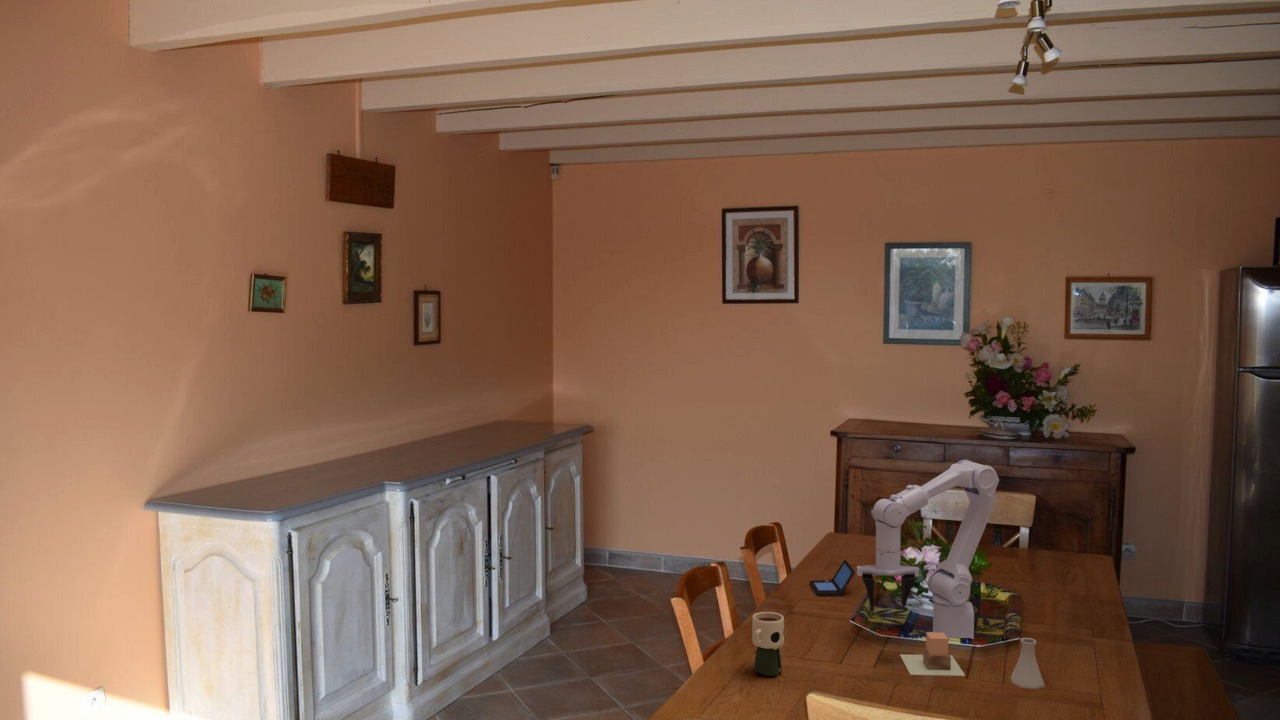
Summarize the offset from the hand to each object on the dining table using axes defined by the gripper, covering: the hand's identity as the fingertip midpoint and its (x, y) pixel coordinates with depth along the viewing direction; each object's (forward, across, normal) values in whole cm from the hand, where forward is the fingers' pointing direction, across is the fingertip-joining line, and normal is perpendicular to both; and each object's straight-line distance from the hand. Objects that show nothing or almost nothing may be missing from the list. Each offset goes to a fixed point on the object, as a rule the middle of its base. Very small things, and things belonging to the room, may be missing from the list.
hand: (887, 604), depth 238 cm
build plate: (+10, +8, -14) cm, 19 cm away
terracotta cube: (+6, +8, -14) cm, 18 cm away
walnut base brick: (+9, +8, -14) cm, 19 cm away
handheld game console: (+10, -8, +43) cm, 45 cm away
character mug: (+10, -30, -19) cm, 37 cm away
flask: (+10, +26, -23) cm, 36 cm away
